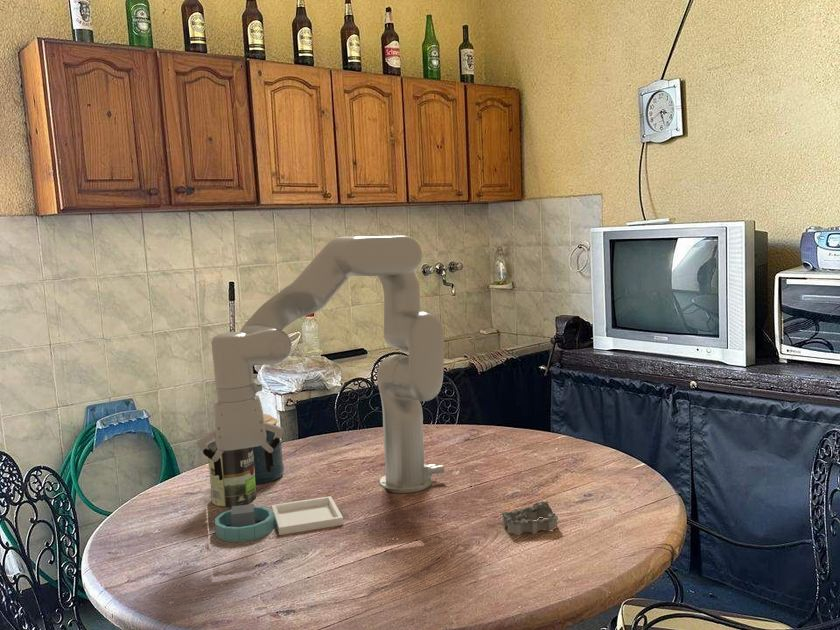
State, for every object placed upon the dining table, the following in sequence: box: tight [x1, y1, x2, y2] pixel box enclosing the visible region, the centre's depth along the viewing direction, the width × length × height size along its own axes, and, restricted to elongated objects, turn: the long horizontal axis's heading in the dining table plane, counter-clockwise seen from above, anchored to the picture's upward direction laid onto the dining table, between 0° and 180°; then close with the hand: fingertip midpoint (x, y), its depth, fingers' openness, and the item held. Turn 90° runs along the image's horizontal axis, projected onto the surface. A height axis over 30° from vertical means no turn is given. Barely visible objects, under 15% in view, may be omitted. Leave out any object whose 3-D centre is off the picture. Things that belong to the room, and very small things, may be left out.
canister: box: [253, 413, 285, 485], centre depth 184 cm, size 13×13×18 cm
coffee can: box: [206, 440, 257, 508], centre depth 167 cm, size 10×10×14 cm
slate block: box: [230, 503, 256, 527], centre depth 151 cm, size 4×4×4 cm
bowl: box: [214, 505, 275, 543], centre depth 150 cm, size 12×12×4 cm
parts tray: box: [271, 495, 344, 536], centre depth 155 cm, size 13×13×2 cm
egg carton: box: [501, 500, 559, 536], centre depth 148 cm, size 11×8×4 cm
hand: (244, 474), depth 150 cm, fingers open, 9 cm apart
